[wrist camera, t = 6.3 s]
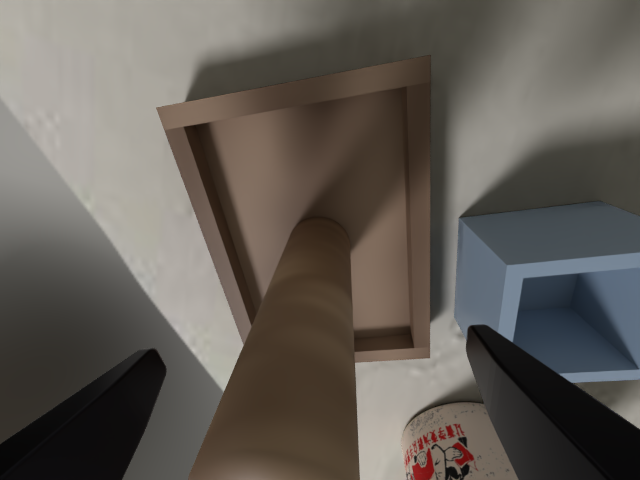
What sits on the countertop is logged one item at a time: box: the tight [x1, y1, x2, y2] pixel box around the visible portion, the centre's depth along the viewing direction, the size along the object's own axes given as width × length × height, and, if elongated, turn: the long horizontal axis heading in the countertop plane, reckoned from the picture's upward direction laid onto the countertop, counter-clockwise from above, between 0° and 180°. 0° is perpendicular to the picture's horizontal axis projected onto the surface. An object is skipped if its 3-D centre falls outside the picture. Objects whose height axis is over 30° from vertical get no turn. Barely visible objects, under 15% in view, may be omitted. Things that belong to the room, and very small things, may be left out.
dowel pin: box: [188, 217, 360, 480], centre depth 9 cm, size 3×3×10 cm
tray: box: [156, 55, 431, 363], centre depth 14 cm, size 10×14×2 cm
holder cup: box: [454, 201, 640, 383], centre depth 13 cm, size 6×6×4 cm
